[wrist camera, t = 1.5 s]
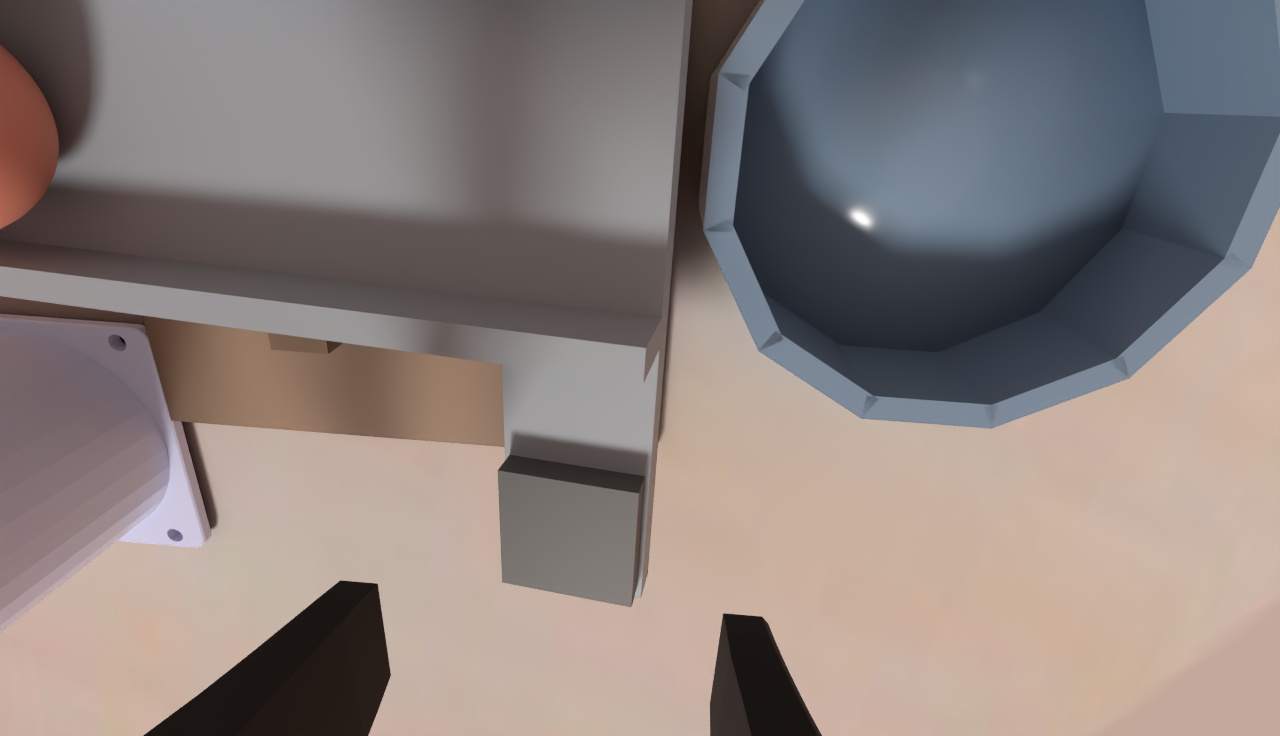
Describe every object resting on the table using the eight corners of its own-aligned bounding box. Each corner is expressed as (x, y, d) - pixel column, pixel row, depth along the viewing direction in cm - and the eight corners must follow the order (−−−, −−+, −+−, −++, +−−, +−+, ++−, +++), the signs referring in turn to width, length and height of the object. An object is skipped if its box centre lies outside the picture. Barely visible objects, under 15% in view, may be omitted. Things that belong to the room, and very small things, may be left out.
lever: (91, 470, 17) (-7, 523, 14) (-98, -72, 12) (-286, -110, 10) (647, 573, 14) (626, 653, 12) (697, -53, 9) (675, -97, 7)
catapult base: (185, 411, 20) (25, 513, 15) (-25, -379, 13) (-466, -676, 8) (656, 448, 19) (648, 566, 15) (717, -348, 12) (744, -643, 7)
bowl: (685, 348, 18) (686, 405, 15) (729, -131, 14) (745, -204, 10) (1079, 377, 18) (1171, 442, 14) (1259, -104, 13) (1452, -170, 10)
